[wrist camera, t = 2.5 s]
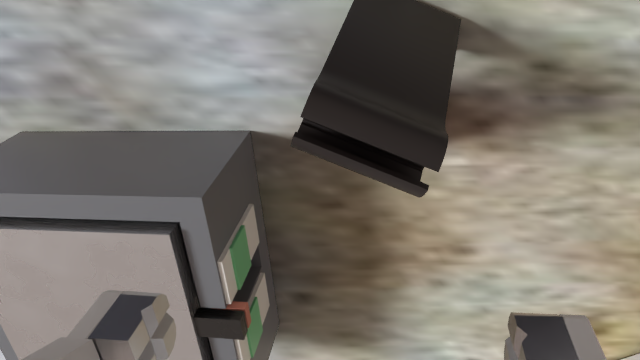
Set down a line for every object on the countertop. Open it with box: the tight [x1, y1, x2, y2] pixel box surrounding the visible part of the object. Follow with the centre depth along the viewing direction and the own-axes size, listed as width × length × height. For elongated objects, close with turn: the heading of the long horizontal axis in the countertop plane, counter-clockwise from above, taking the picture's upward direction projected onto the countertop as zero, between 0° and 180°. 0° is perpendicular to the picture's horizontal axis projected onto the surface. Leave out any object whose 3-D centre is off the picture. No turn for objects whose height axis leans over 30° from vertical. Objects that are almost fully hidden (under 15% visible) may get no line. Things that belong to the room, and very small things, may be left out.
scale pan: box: [0, 217, 248, 360], centre depth 31 cm, size 17×14×1 cm
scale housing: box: [0, 131, 279, 360], centre depth 35 cm, size 18×18×9 cm
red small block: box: [211, 301, 251, 328], centre depth 31 cm, size 2×2×1 cm
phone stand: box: [291, 0, 461, 197], centre depth 25 cm, size 9×6×12 cm, turn 160°
